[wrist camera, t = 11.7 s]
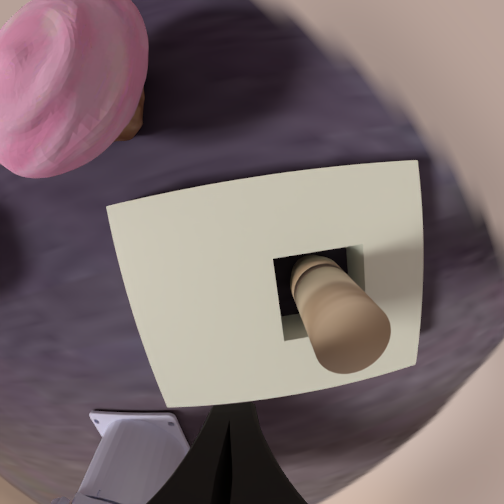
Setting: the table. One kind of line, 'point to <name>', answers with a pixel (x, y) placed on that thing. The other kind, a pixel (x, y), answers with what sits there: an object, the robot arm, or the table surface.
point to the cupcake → (69, 83)
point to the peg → (338, 316)
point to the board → (265, 276)
